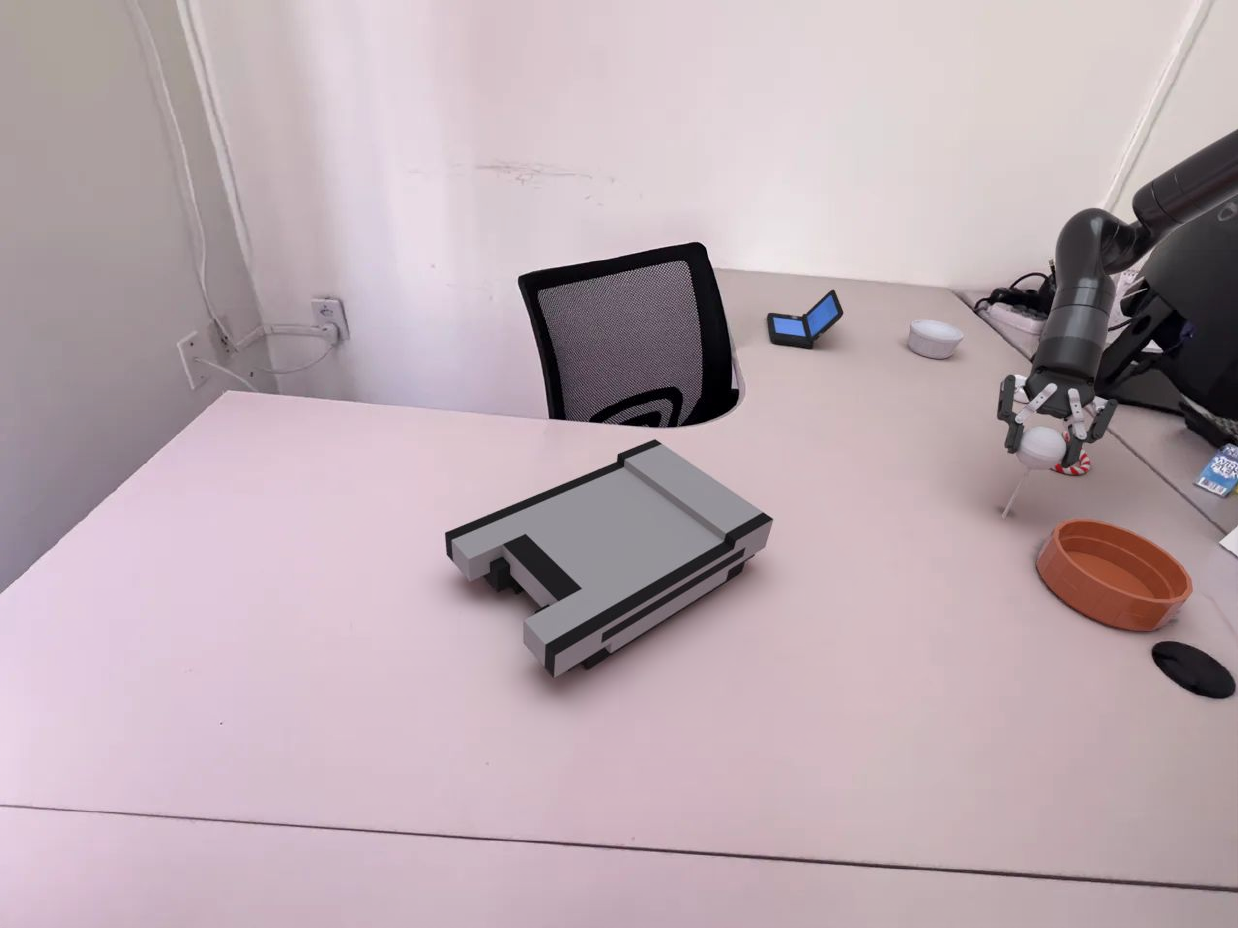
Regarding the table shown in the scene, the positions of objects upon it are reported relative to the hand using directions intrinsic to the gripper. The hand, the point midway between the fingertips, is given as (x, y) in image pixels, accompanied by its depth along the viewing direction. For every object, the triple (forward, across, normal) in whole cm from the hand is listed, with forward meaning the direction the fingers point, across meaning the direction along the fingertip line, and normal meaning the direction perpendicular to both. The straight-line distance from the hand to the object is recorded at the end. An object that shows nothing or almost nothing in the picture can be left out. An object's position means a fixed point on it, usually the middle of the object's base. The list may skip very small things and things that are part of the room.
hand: (1038, 459), depth 88 cm
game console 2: (+34, -46, -18) cm, 60 cm away
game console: (-29, -41, +46) cm, 68 cm away
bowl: (+14, +11, +3) cm, 18 cm away
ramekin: (-35, -13, +53) cm, 65 cm away
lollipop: (+7, 0, +9) cm, 12 cm away
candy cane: (-12, +11, +29) cm, 33 cm away
